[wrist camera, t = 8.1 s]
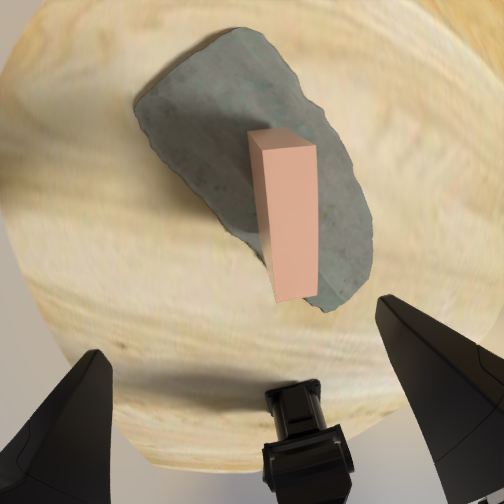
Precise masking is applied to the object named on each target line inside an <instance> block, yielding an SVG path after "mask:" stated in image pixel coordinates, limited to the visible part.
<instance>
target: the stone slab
mask: <svg viewBox="0 0 504 504" xmlns="http://www.w3.org/2000/svg"><path fill="white" fill-rule="evenodd" d="M135 116H136V117H137V119H138V121H139V124H140V128H141V130H142V131H143V132H144V133H145V134H146V135H147V136H148V138H149V141H150V146H151V148H152V149H153V150H154V151H155V152H156V153H157V154H158V156H159V157H160V158H161V160H162V161H163V162H165V163H166V164H168V166H169V168H170V169H171V170H172V171H173V172H175V173H177V174H178V175H180V176H181V177H182V179H183V180H184V181H185V183H186V184H187V185H188V186H189V187H190V188H191V189H192V190H193V192H194V193H195V194H196V195H199V196H201V197H202V198H203V199H204V200H205V202H206V204H207V205H208V207H209V208H210V209H212V210H213V212H214V213H215V214H216V215H217V216H218V218H219V219H220V221H221V223H222V224H223V225H224V227H225V228H226V229H227V230H228V231H229V233H230V234H231V235H233V236H235V237H238V238H239V239H240V240H242V241H245V242H247V243H248V244H249V246H250V247H251V248H252V249H253V250H254V251H256V252H257V253H258V254H259V255H260V257H261V259H262V261H263V262H264V263H265V264H266V262H265V259H264V255H263V251H262V248H261V244H260V239H259V230H258V221H257V212H256V203H255V195H254V186H253V178H252V169H251V161H250V152H249V144H248V136H247V131H253V130H262V129H272V128H282V127H283V128H285V129H287V130H288V131H290V132H292V133H294V134H296V135H298V136H300V137H302V138H304V139H305V140H307V141H309V142H311V143H313V144H315V145H316V154H317V179H318V288H317V295H316V296H311V297H305V300H306V301H307V302H309V303H310V304H311V306H316V307H319V308H321V310H322V311H323V312H324V313H327V312H330V311H334V310H335V309H337V308H338V307H339V306H340V305H342V304H344V303H345V302H347V301H348V300H349V299H350V298H351V297H352V296H353V295H354V294H355V293H356V292H357V291H358V289H359V288H360V287H361V286H362V285H363V284H364V283H365V282H366V281H367V280H368V279H369V275H370V271H371V267H372V261H373V241H372V237H373V228H372V216H371V213H370V210H369V208H368V205H367V203H366V200H365V197H364V194H363V191H362V189H361V186H360V184H359V183H358V181H357V180H356V178H355V176H354V173H353V163H352V161H351V159H350V157H349V155H348V153H347V151H346V148H345V146H344V144H343V143H342V141H341V140H340V137H339V135H338V133H337V132H336V131H335V130H334V129H333V128H332V127H331V126H330V124H329V122H328V121H327V119H326V117H325V113H324V110H323V109H322V108H321V107H319V106H317V105H316V104H315V103H313V102H312V101H310V100H308V99H307V98H306V97H305V96H304V94H303V92H302V90H301V87H300V83H299V80H298V77H297V75H296V74H295V73H294V72H293V71H292V70H291V68H290V67H289V65H288V64H287V63H286V62H285V61H284V59H283V58H282V56H281V55H280V54H279V52H278V51H277V49H276V48H275V47H274V46H273V45H272V44H270V43H269V42H268V41H267V40H266V38H265V37H264V35H263V34H262V33H260V32H257V31H254V30H252V29H249V28H245V27H241V28H236V29H234V30H232V31H230V32H228V33H225V34H223V35H222V36H220V37H219V38H218V39H216V40H215V41H213V42H212V43H210V44H209V45H208V46H207V47H206V48H204V49H202V50H200V51H198V52H195V53H194V54H193V55H191V56H190V57H189V58H187V59H186V60H185V61H184V62H182V63H181V64H180V65H178V66H177V67H176V68H175V69H173V70H172V71H171V72H170V73H169V74H168V75H167V76H166V77H165V78H163V79H162V80H161V81H159V82H158V83H157V84H156V85H155V86H154V87H153V88H152V89H151V90H150V91H149V92H148V93H146V94H145V95H144V96H143V97H142V98H141V99H140V101H139V103H138V104H137V106H136V108H135Z"/></svg>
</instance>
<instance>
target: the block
mask: <svg viewBox="0 0 504 504" xmlns="http://www.w3.org/2000/svg"><path fill="white" fill-rule="evenodd" d="M247 136H248V144H249V152H250V161H251V169H252V178H253V186H254V195H255V203H256V212H257V221H258V230H259V239H260V244H261V248H262V251H263V255H264V259H265V262H266V266H267V270H268V274H269V277H270V281H271V285H272V289H273V292H274V296H275V300H276V302H282V301H288V300H294V299H300V298H305V297H311V296H316V295H317V288H318V179H317V154H316V145H315V144H313V143H311V142H309V141H307V140H305V139H304V138H302V137H300V136H298V135H296V134H294V133H292V132H290V131H288V130H287V129H285V128H283V127H282V128H272V129H262V130H253V131H247Z"/></svg>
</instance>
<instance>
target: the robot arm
mask: <svg viewBox="0 0 504 504" xmlns="http://www.w3.org/2000/svg"><path fill="white" fill-rule="evenodd" d="M375 321H376V324H377V327H378V329H379V332H380V335H381V337H382V340H383V343H384V346H385V348H386V351H387V354H388V357H389V360H390V362H391V364H392V367H393V369H394V371H395V373H396V375H397V377H398V379H399V381H400V384H401V386H402V388H403V390H404V392H405V394H406V397H407V399H408V401H409V403H410V406H411V408H412V410H413V412H414V415H415V417H416V419H417V422H418V424H419V426H420V429H421V431H422V434H423V436H424V439H425V441H426V444H427V446H428V448H429V451H430V454H431V456H432V459H433V462H434V463H435V464H434V465H435V467H436V470H437V473H438V476H439V478H440V481H441V484H442V487H443V490H444V493H445V496H446V499H447V502H448V504H468V503H471V502H473V501H476V500H478V499H481V498H483V497H485V498H483V499H482V500H481V501H479V502H478V504H504V359H502V358H501V357H499V356H497V355H495V354H494V353H492V352H490V351H488V350H487V349H485V348H483V347H482V346H480V345H477V344H476V343H475V342H473V341H471V340H470V339H468V338H466V337H465V336H463V335H461V334H460V333H458V332H456V331H455V330H453V329H451V328H449V327H448V326H446V325H444V324H443V323H441V322H439V321H437V320H436V319H434V318H432V317H430V316H429V315H427V314H425V313H424V312H422V311H420V310H418V309H416V308H415V307H413V306H411V305H409V304H408V303H406V302H404V301H402V300H401V299H399V298H397V297H395V296H393V295H391V294H388V295H384V296H381V297H379V298H378V301H377V307H376V313H375ZM112 383H113V370H112V366H111V364H110V362H109V361H108V360H107V358H106V357H105V356H104V354H103V353H102V351H101V350H99V349H92V350H88V351H87V352H86V353H85V354H84V355H83V356H82V358H81V359H80V360H79V361H78V362H77V363H76V364H75V365H74V367H73V368H72V369H71V370H70V371H69V372H68V373H67V374H66V376H65V377H64V378H63V379H62V380H61V381H60V383H59V384H58V385H57V386H56V387H55V388H54V390H53V391H52V392H51V393H50V394H49V395H48V397H47V398H46V399H45V400H44V402H43V403H42V404H41V405H40V406H39V407H38V409H37V410H36V411H35V412H34V413H33V415H32V416H31V417H30V419H29V420H28V421H27V422H26V423H25V425H24V426H23V427H22V428H21V430H20V431H19V432H18V433H17V434H16V436H15V437H14V438H13V439H12V440H11V441H10V442H9V443H8V444H7V445H6V447H5V448H4V449H3V450H2V451H1V452H0V504H111V499H110V498H111V497H110V448H111V426H112V411H113V390H112ZM320 394H321V384H320V381H319V380H316V381H312V382H308V383H304V384H300V385H295V386H291V387H287V388H282V389H277V390H273V391H268V392H266V393H265V397H266V400H267V404H268V407H269V410H270V413H271V416H272V417H274V421H275V426H276V432H277V437H278V442H273V443H265V444H264V448H263V449H262V453H263V461H264V464H263V482H265V483H266V484H268V486H269V488H270V490H271V491H272V493H273V492H276V497H277V501H278V504H345V503H346V501H347V498H348V495H349V493H350V490H351V486H352V482H351V479H350V475H349V473H353V472H354V465H353V461H352V457H351V454H350V451H349V448H348V445H347V443H346V440H345V437H344V434H343V432H342V429H341V426H340V424H337V425H335V426H333V427H330V428H327V426H326V422H325V419H324V416H323V412H322V409H321V406H320ZM335 442H337V443H335Z"/></svg>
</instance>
